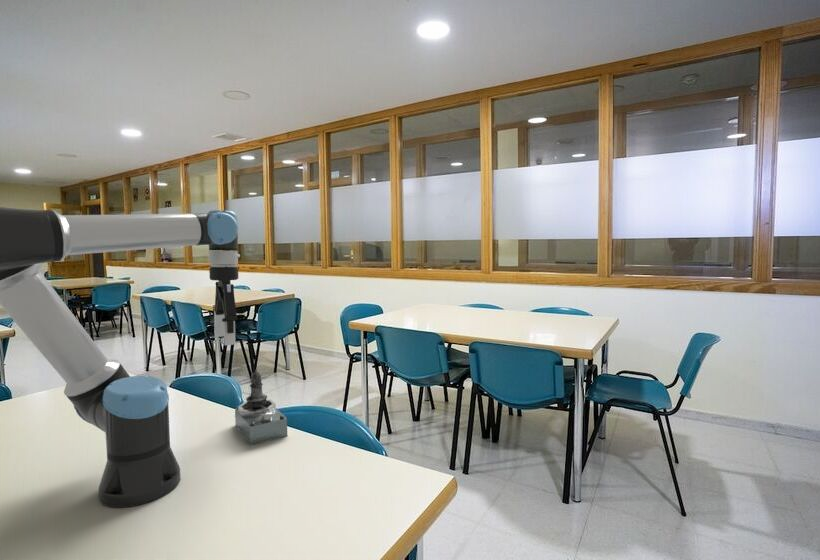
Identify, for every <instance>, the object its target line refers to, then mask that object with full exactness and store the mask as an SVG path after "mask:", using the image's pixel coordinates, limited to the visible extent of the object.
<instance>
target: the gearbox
mask: <svg viewBox="0 0 820 560" xmlns="http://www.w3.org/2000/svg"><path fill="white" fill-rule="evenodd" d="M263 406H265V407H266V408H265V409H260V410H255V411H254V410H248V409H249V408H250V406H249V405H248V403H247V401H244V402H243V403H242V404H240V405H238V406H237V407H235V408H234V418H235V419H234V421H235V426H236V428H237V429H238V430H239V432H240V433H241V435H242V436H243V438H245V440H246V442H248V444H249V445H250V446H253V445H254V446H255V445H257V444H261V443H264V442H269V441H272V440H277V439H280V438H284V437H288V418H287V417H286V415H284V413H282V411H280V410H279V409H278V408H276V403H275V402H274V400H272V399H268V398H267V399H266V403H265V404H264V405H263Z"/></svg>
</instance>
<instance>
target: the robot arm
mask: <svg viewBox="0 0 820 560" xmlns="http://www.w3.org/2000/svg"><path fill="white" fill-rule="evenodd" d="M238 232H239V226H238V215H237V213H236V212H235V211H232V210H218V209H214V210H213V209H211V210H209V211H208V212H207V213H203V212H202V213H143V214H142V213H141V214H139V213H137V214H136V213H135V214H134V213H133V214H131V213H130V214H127V213H126V214H75V215H74V214H73V215H72V214H71V215H70V214H68V215H66V214H65V215H63V214H62V215H61V214H60V213H58V212H57V211H56V210H54V209H43V210H42V209H25V208H15V207H14V208H13V207H5V206H4V207H3V206H0V306H1V307H2V309H3V310H4V311H5V312H6V313H7V314H8V316H9V317H10V318H11V319H12V320H13V321H14V323H15V324H16V325H17V326H18V327H19V328H20V330H21V331H22V333H24V335H25V336H26V337H27V338H28V339H29V341H30V342H31V343H32V344H33V345H34V346H35V347H36V349H37V350H38V351H39V352H40V353H41V355H42V356H43V357H44V358H45V360H47V362H48V363H49V364H50V365H51V367H52V368H53V369H54V370H55V371H56V373H58V375H59V376H60V378H62V379H63V381H64V383H66V384H65V387H64V390H63V394H64V396H66V398H68V400H69V401H70V402H71V403H72V405H73V407H74V410H75V412H76V414H77V415H78V416H79V417H80V418H81V419H82V420H83V421H84V422H86V423H89V424H91V425H93V426H94V427H96V428H97V429H99V430H101V431H102V432H104V433H105V444H106V463H105V466H104V470H103V473H102V476H101V478H100V479H101V480H100V483H99V486H98V500H99V502H100V504H102V506H103V505H104V506H106V507H110V508H128V507H134V506H139V505H143V504H146V503H150V502H152V501H154V500H155V501H156V500H157V499H159V498H161V497H164V496H165V495H167V494H169V493H170V492H172V490H173V491H174V489H176V487H177V486H178V485H179V483H180V481H181V479H182V478H181V468H180V465H179V463H178V460H177V459H176V455H175V454H174V451H173V449H172V448H171V441H170V440H171V439H170V437H171V436H170V434H171V433H170V413H169V412H170V410H169V409H170V408H169V407H170V406H169V400H170V398H169V397H170V396H169V393H168V386H167V384H166V383H165V381H164V380H163V379H160V378H159V377H156V376H151V375H150V376H149V375H148V376H145V375H134V376H130V374H129V372H128V371H127V370H126V369H125V368H124V366H123V365H122V364H121V362H120V361H119V360H117V359H109V358H107V357H106V356H105V355H104V353H103V351H101V349H100V348H99V346H98V345H97V344H96V342H95V341H94V340H93V339H92V337H91V335H89V333H88V332H87V331H86V329H85V328H84V327H83V325H82V324H81V323H80V321H78V319H77V317H76V316H75V315H74V314H73V312H72V311H71V310H70V309H69V307H68V306H67V304H66V303H65V301H64V300H63V299H62V297H60V295H59V294H58V293H57V291H56V290H55V289H54V287H53V286H52V284H51V283H50V282H49V281H48V280H47V278H46V276H45V275H44V274H43V273H42V272H41V266H42V264H45V263H54V262H55V263H57V262H62V261H64V259H65V258H67V256H73V255H74V256H76V255H86V254H89V255H90V254H101V253H113V252H127V251H136V250H137V251H140V250H153V249H165V248H176V247H177V248H178V247H179V248H180V247H191V246H193V247H194V246H207V245H208V264H209V265H210V267H209V269H208V270H209V271H208V273H209V280H211V281H216V282H215V283H214V284H215V297H214V299H215V300H214V309H213V311H214V313H215V333H216V335H215V336H216V338H219V337H223V341H224V346H232V345H233V346H234V345H236V320H237V319H238V316H237V309H236V300H235V290H234V289H235V286H234V284H233V283H231V281H237V280H238V279H239V267H238V266H237V265H238V264H239V259H238V258H240V257H241V254H240V253H239V252H238V249H239V243H238V242H239V241H238V239H239V238H238V234H239V233H238Z"/></svg>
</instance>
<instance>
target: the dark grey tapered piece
mask: <svg viewBox="0 0 820 560" xmlns="http://www.w3.org/2000/svg"><path fill="white" fill-rule="evenodd" d="M250 383H251V384H249V387H250V394H249V396H247V397H246V399H245V400H246V402H247V403H248V405H249V406H250V408H249V409H248V410H254V411H255V410H260V409H265V408H266V407H265V406H263V405H264V404H265V403H266V399H268V395H267V394H264V393H263V385H264V383H262V373H260V372H258V370H257V369H255V370H254V372H253V373H252V374H251V376H250Z"/></svg>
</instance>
